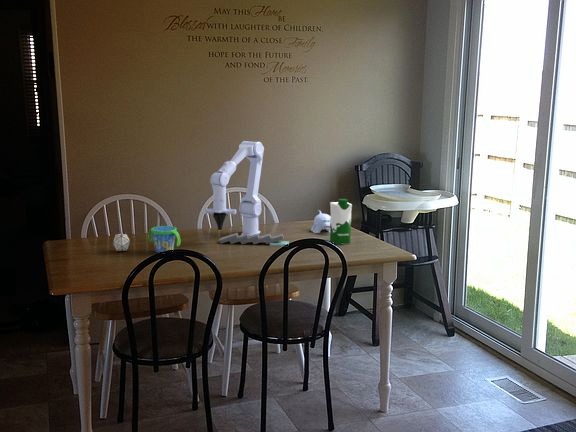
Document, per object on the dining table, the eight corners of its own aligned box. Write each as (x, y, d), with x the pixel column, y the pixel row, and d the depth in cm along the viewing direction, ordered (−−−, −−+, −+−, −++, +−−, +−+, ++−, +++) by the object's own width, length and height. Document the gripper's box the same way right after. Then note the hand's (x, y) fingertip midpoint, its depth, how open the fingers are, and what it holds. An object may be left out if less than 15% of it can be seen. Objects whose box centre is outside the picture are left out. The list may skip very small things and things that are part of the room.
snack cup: (186, 251, 265) (186, 228, 263) (169, 257, 256) (168, 232, 254) (160, 246, 273) (159, 224, 271) (142, 251, 264) (141, 228, 262)
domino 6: (269, 243, 277) (287, 244, 276) (271, 240, 281) (289, 241, 280) (269, 246, 277) (287, 247, 276) (271, 244, 282) (288, 244, 281)
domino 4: (252, 241, 277) (269, 235, 277) (253, 238, 282) (270, 233, 282) (253, 244, 278) (270, 238, 277) (254, 242, 283) (271, 236, 282)
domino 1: (219, 240, 279) (236, 234, 278) (220, 237, 284) (237, 232, 283) (220, 243, 279) (237, 238, 278) (222, 241, 284) (238, 235, 283)
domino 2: (229, 240, 279) (246, 235, 278) (231, 238, 283) (248, 232, 282) (230, 244, 279) (247, 238, 278) (232, 241, 284) (249, 236, 283)
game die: (124, 260, 264) (124, 245, 257) (106, 252, 265) (106, 237, 258) (135, 246, 270) (136, 231, 263) (118, 239, 271) (118, 223, 264)
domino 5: (265, 240, 277) (282, 235, 277) (265, 238, 282) (282, 233, 282) (266, 244, 277) (283, 239, 277) (266, 241, 282) (283, 237, 282)
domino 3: (240, 241, 278) (257, 235, 277) (241, 238, 283) (258, 233, 282) (241, 244, 278) (258, 239, 277) (243, 241, 283) (259, 236, 282)
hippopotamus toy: (317, 235, 296) (317, 216, 294) (308, 229, 311) (308, 210, 309) (339, 234, 299) (339, 215, 297) (329, 228, 313) (329, 209, 311)
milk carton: (334, 245, 278) (335, 200, 274) (327, 240, 286) (328, 197, 282) (353, 243, 280) (354, 199, 277) (345, 239, 289) (346, 196, 285)
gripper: (201, 200, 275) (202, 230, 278) (233, 201, 273) (234, 231, 276) (205, 198, 282) (206, 227, 284) (237, 198, 280) (237, 228, 283)
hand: (220, 229), depth 281 cm, fingers closed
